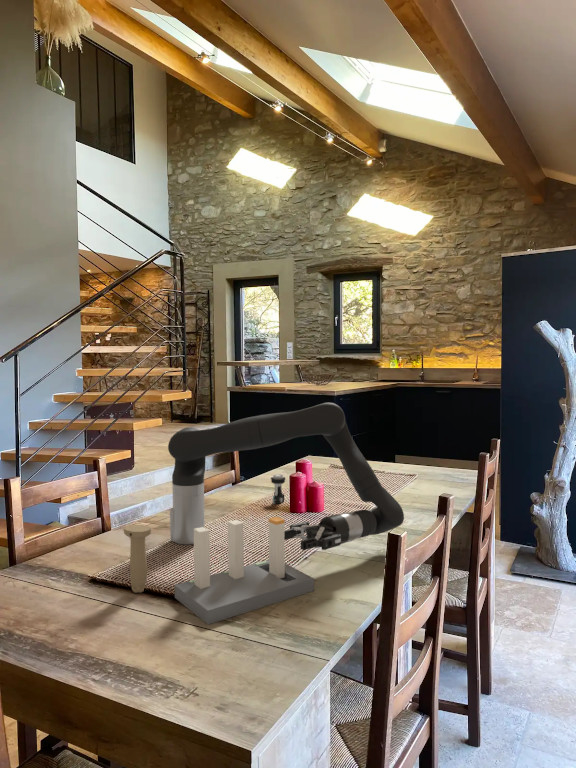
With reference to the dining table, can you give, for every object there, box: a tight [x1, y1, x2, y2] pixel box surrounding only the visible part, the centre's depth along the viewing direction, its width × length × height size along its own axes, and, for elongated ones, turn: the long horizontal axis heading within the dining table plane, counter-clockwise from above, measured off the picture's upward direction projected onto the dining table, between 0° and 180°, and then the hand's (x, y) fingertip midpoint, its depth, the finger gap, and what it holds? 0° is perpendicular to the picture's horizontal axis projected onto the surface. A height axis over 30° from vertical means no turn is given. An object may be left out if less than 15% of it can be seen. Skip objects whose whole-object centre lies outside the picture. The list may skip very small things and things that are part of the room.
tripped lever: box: [268, 516, 286, 579], centre depth 140 cm, size 2×3×14 cm
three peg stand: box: [174, 519, 315, 625], centre depth 135 cm, size 28×16×16 cm, turn 126°
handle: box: [123, 524, 152, 593], centre depth 137 cm, size 5×6×15 cm
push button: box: [270, 473, 286, 505], centre depth 213 cm, size 7×5×10 cm
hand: (291, 540), depth 143 cm, fingers open, 8 cm apart
